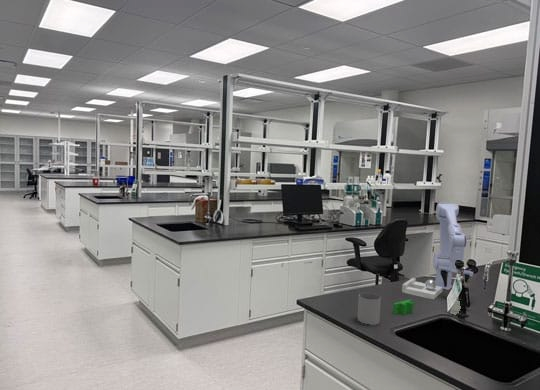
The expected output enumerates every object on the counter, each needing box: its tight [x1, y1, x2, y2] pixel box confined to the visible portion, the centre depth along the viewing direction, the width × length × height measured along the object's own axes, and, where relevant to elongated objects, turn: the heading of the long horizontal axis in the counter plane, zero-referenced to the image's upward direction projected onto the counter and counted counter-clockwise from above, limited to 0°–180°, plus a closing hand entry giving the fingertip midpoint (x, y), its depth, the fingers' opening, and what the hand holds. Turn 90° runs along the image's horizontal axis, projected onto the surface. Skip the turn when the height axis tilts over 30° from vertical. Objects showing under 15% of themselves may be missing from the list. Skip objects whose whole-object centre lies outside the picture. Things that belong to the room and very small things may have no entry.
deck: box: [401, 277, 444, 301], centre depth 189 cm, size 16×15×4 cm
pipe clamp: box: [392, 299, 415, 316], centre depth 160 cm, size 11×4×5 cm, turn 122°
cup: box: [357, 292, 382, 326], centre depth 149 cm, size 8×8×10 cm
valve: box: [449, 298, 468, 315], centre depth 163 cm, size 7×7×12 cm
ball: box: [424, 279, 436, 290], centre depth 185 cm, size 5×5×5 cm
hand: (454, 288), depth 179 cm, fingers open, 7 cm apart
